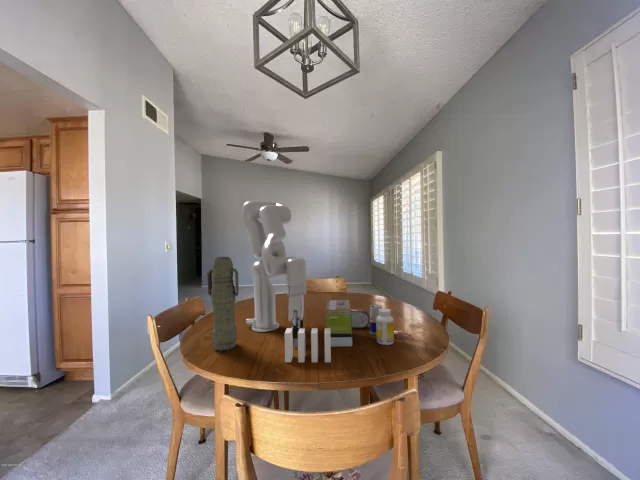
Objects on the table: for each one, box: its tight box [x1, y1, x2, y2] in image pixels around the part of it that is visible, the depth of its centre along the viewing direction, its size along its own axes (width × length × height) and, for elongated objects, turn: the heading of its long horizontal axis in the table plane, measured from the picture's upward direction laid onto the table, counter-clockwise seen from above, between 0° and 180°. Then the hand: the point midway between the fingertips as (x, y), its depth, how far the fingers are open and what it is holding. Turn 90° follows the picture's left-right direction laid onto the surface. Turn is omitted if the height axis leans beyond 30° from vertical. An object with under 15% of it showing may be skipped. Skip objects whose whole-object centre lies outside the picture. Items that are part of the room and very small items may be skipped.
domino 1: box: [284, 327, 294, 363], centre depth 98 cm, size 2×5×10 cm, turn 178°
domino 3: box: [297, 327, 306, 363], centre depth 98 cm, size 2×5×10 cm, turn 178°
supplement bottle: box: [376, 308, 395, 346], centre depth 112 cm, size 7×7×13 cm
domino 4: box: [310, 327, 319, 363], centre depth 98 cm, size 2×5×10 cm, turn 178°
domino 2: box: [293, 322, 300, 349], centre depth 110 cm, size 2×5×10 cm, turn 178°
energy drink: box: [368, 303, 383, 336], centre depth 122 cm, size 5×5×12 cm
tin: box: [351, 308, 370, 329], centre depth 130 cm, size 15×3×8 cm, turn 84°
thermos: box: [206, 256, 240, 352], centre depth 110 cm, size 9×12×35 cm
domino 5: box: [323, 327, 332, 363], centre depth 98 cm, size 2×5×10 cm, turn 178°
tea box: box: [325, 299, 353, 348], centre depth 116 cm, size 15×10×15 cm, turn 177°
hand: (297, 333), depth 110 cm, fingers open, 9 cm apart
